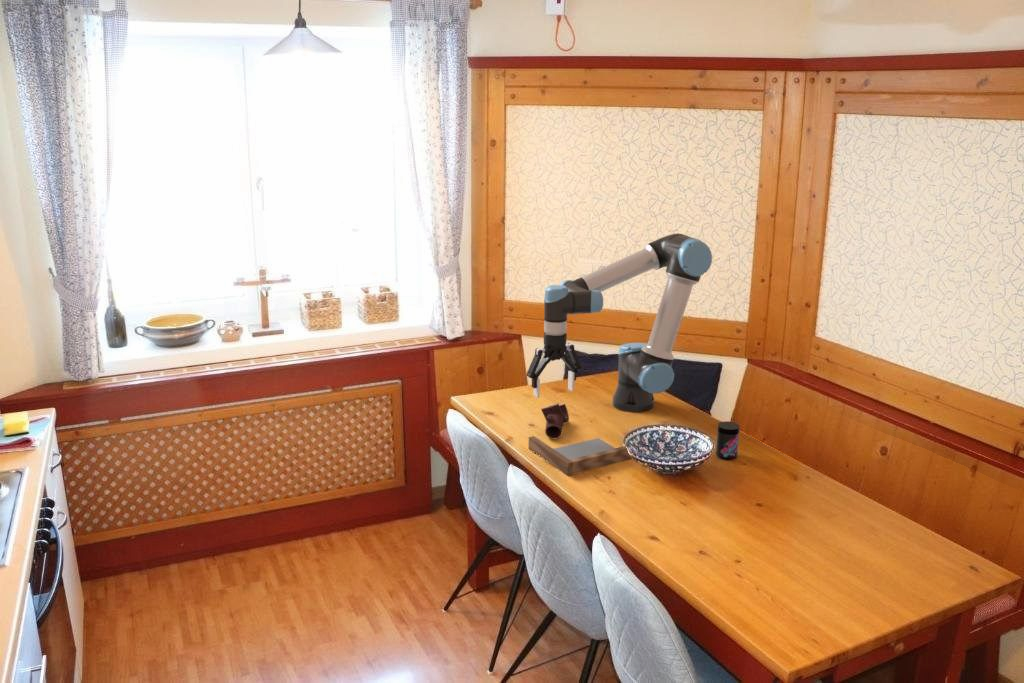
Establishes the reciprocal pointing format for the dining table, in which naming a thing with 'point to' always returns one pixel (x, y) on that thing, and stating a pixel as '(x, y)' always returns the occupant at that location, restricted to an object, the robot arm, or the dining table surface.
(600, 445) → the mat
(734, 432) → the supplement container
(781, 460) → the dining table surface
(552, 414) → the bracket
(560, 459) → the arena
